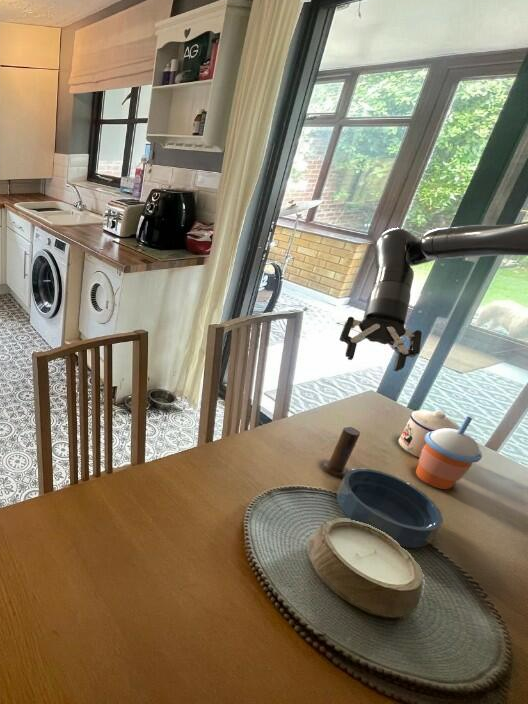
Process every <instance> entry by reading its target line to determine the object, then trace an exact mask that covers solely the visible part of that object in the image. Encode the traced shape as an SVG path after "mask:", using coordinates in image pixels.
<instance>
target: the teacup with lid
mask: <svg viewBox="0 0 528 704" xmlns="http://www.w3.org/2000/svg"><path fill="white" fill-rule="evenodd" d="M409 416H410V418H409V419H408V421H407V424H406V425H405V427H404V429H403V431H402V433H401V434H400V436H399V439H398V443H399V445H400V446H401V448H402V449H403V450H405V451H406V452H408V453H409V454H411V455H413V456H415V457H417V458H420V456H421V453H422V450H423V448H424V445H425V444H426V441H425V436H426V434H427V433H429V432H432V431H436V430H439V429H445V428H449V429H456V430H459V429H460V427H461V426H459V424H458V423H457V422H455V421H453V420H452V419H451V418H449V417H447V416H446V414H445V412H443V411H440V410H435V411H430V410H423V409H419V410H415V411H412V412H410V415H409Z"/></svg>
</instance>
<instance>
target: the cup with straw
mask: <svg viewBox="0 0 528 704" xmlns="http://www.w3.org/2000/svg"><path fill="white" fill-rule="evenodd" d="M472 420H473V418H472V417H471V416H466V417H465V418H464V421H462V423H461V425H460V426H459V427H460V429H459V430H456V429H449V428H445V429H439V430H436V431H432V432H429V433H427V434H426V436H425V441H426V444H425V445H424V448H423V450H422V453H421V456H420V458H419V457H418V458H419V459H418V465H417V467H416V470H415V475H416V476H417V477H418V478H419V479H420V480H421V481H422V482H423V483H426V484H427V485H429V486H431V487H434V488H435V489H441V490H450V489H451V488H452V487H454V485H455V484H456V482H457V481H459V480H460V479H462V477H463V476H465V474H466V473H467V472H468V470H470V468H471V467H472V465H473V463H478V462H480V461H481V460H482V458H483V453H482V451H481V450H480V447H479V445H478V442H477V441H476V440H475V439H474V438H473V437H472V436H471V435H469V434H468V433H466V431H467V429H468V427H469V425H470V423H471V422H472Z"/></svg>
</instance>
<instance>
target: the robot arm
mask: <svg viewBox="0 0 528 704" xmlns="http://www.w3.org/2000/svg"><path fill="white" fill-rule="evenodd" d="M373 252H374V265H375V271H376V272H375V276H374V280H373V284H372V287H371V290H370V292H369V294H368V298H367V300H366V306H365V310H364V314H363V319H362V320H358V319H355V318H354V317H353V316H348V317H347V319H346V320H345V322H344V325H343V328H342V331H341V332H340V336H339V341H340V342H342V343H343V342H344V343H346V345H347V346H346V350H345V354H344V355H345V357H346V358H347V360H349V361H352V360H353V359H354V358H355V357H354V356H355V353H356V349H357V345H358V343H360V342H362V341H365V340H366V339H367V340H368V342H373V343H379V344H382V345H387V344H388V346H389V347H390V348H391V349H392V350H393V351H394V352H395V354H396V356H395V359H394V364H393V368H392V371H394V372H398V371H401V370H402V369H404V367H405V366H406V362H407V358H415V357H416V356H417V355H419V354H420V352H421V351H420V350H421V343H422V342H421V341H422V334H423V333H422V331H421V330H419V329H418V330H417V329H416V330H406V328H405V323H406V318H407V313H408V310H409V305H410V301H411V290H412V286H413V282H414V276H415V272H414V269H413V267H415V266H418V265H424V264H426V263H430V262H433V261H436V260H447V259H448V260H449V259H459V258H460V259H463V258H476V257H477V258H478V257H492V256H493V257H494V256H495V257H496V256H525V257H527V256H528V221H525V222H518V223H509V224H470V225H460V226H452V227H443V228H436V229H432V230H429V231H427V232H426V233H424V235H423V236H422V237H421V238H418V237H417V236H415V235H414V234H412V233H411V232H409V231H408V230H406V229H404V228H400V227H399V228H398V227H397V228H391V229H388V230H386V231H384V232H383V233H382V234H381V235H380V236H379V237H378V238H377V240H376V242H375V244H374V251H373ZM357 326H358V327H359V330H360V331H361V332H359V333H358V334H356V335H355V336H353V337H351V336H350V332H351V330H352V329H355V328H356V327H357ZM403 336H405V337H406V339H407V341H409V345H408V348H407V347H406V346H405V344H404V341H403V340H402V338H401V337H403Z"/></svg>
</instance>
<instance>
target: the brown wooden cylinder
mask: <svg viewBox="0 0 528 704" xmlns="http://www.w3.org/2000/svg"><path fill="white" fill-rule="evenodd" d="M360 436H361V432H360V431H359V430H358V429H356V428H355V427H352V426H344V427H343V429H342V430H341V433H340V436H339V438H338V441H337V443H336V445H335V448H334V449H333V452H332V454H331V457H330V459H327V460H325V461H324V463H323V466H322V467H323V469H324V470H325V472H327V473H328V474H330V475H332V476H334V477H338V478H344V476H345V475H346V473H347V472H348V469H347V468H346V466H347V463H348V461H349V459H350V457H351V456H352V453H353V451H354V448H355V446H356V444H357V442H358V440H359V438H360Z"/></svg>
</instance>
